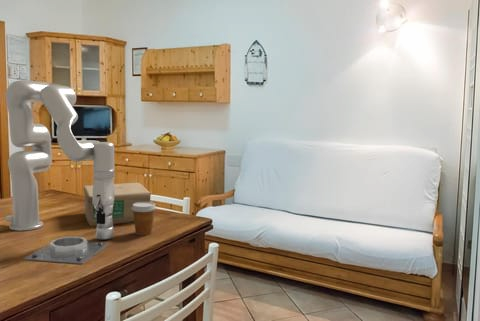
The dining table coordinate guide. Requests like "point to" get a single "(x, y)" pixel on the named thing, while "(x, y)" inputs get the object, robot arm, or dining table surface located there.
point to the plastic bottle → (106, 222)
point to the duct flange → (67, 250)
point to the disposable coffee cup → (143, 217)
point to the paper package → (118, 202)
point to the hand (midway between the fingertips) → (104, 221)
